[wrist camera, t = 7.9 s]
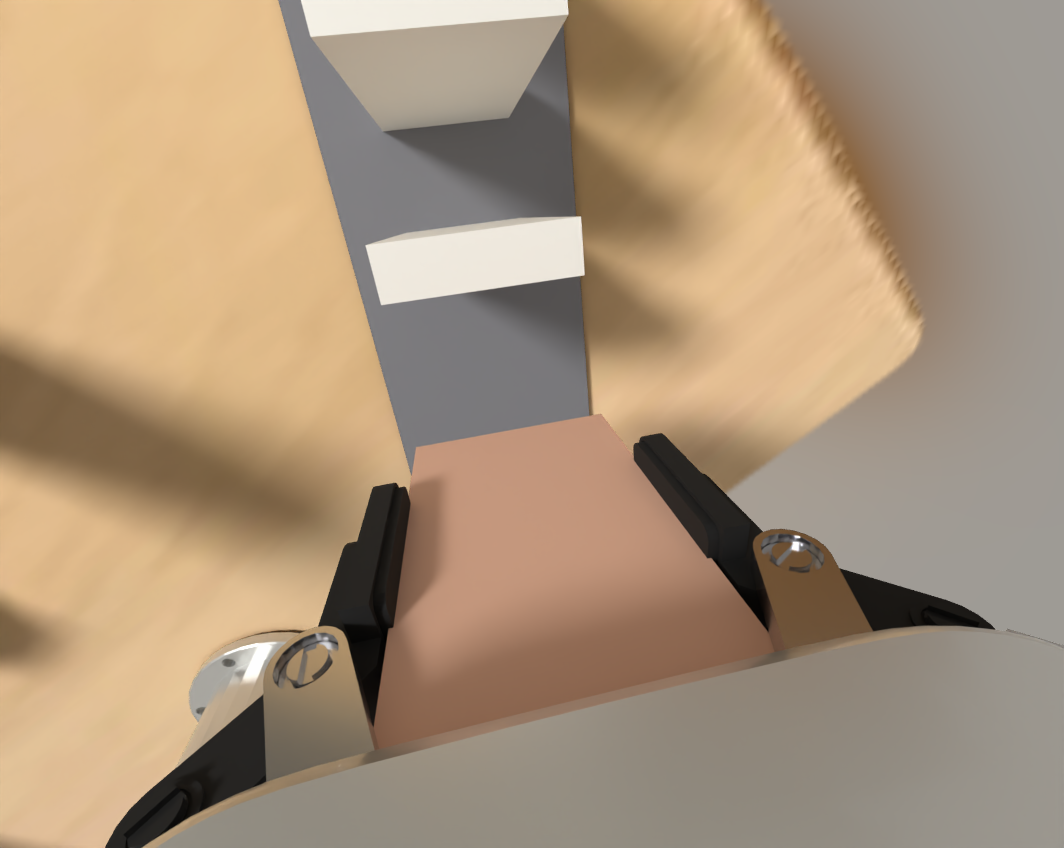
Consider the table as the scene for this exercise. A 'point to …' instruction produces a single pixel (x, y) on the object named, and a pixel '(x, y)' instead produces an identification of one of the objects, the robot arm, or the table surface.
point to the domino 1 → (435, 54)
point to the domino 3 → (545, 583)
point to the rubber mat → (446, 201)
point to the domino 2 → (476, 257)
